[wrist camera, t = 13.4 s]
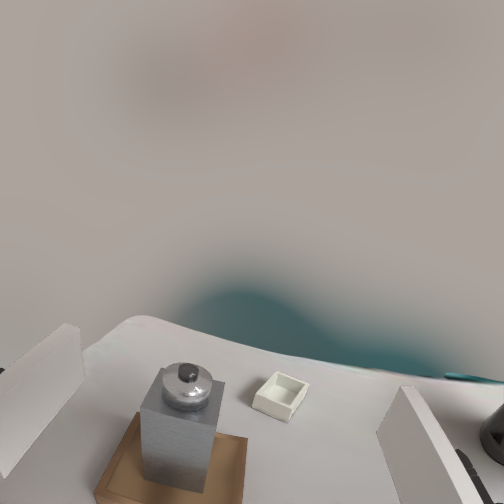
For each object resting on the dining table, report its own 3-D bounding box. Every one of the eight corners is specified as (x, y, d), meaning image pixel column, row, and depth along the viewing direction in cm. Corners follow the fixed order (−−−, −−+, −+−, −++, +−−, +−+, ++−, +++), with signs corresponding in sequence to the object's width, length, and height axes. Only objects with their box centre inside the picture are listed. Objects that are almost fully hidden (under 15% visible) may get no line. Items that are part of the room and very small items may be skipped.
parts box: (272, 384, 50) (276, 370, 49) (304, 397, 47) (309, 383, 46) (251, 407, 42) (255, 393, 42) (286, 423, 40) (292, 409, 39)
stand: (243, 452, 33) (248, 436, 32) (234, 541, 19) (239, 531, 19) (137, 426, 33) (136, 410, 32) (98, 505, 19) (93, 492, 19)
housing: (210, 453, 28) (229, 357, 25) (202, 494, 22) (221, 400, 20) (158, 441, 28) (163, 342, 25) (143, 479, 22) (140, 380, 20)
